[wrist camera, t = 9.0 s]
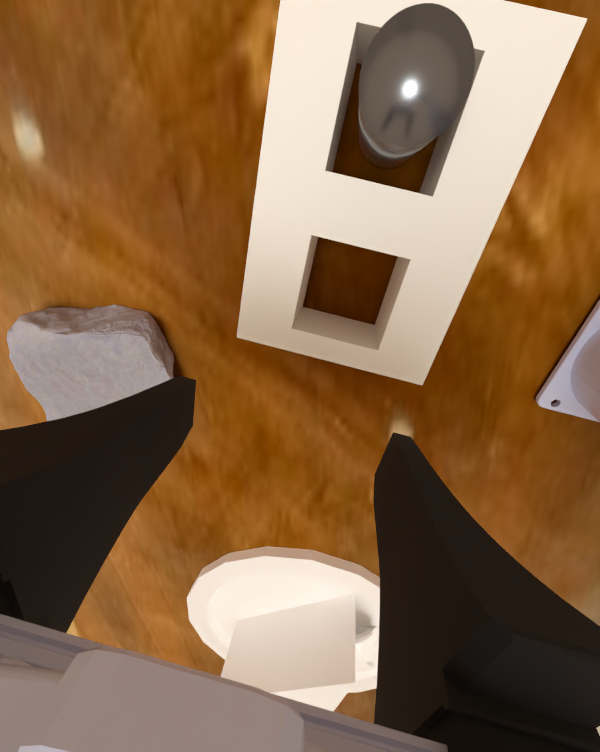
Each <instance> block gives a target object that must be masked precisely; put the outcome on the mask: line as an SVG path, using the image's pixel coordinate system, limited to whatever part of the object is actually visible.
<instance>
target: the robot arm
mask: <svg viewBox="0 0 600 752" xmlns="http://www.w3.org/2000/svg"><path fill="white" fill-rule="evenodd" d="M195 386H196V380H193V379H190V378H186V377H182V376H178V377H175V378H172V379H170V380H168V381H165V382H163V383H160V384H158V385H156V386H153V387H151V388H149V389H146V390H144V391H141V392H139V393H137V394H134V395H132V396H129V397H126V398H124V399H121V400H118V401H116V402H113V403H110V404H107V405H105V406H102V407H99V408H96V409H93V410H89V411H86V412H83V413H79V414H76V415H72V416H68V417H65V418H61V419H56V420H51V421H47V422H42V423H38V424H33V425H28V426H23V427H18V428H12V429H6V430H0V752H600V736H599V734H598V731H597V729H596V728H597V727H598V726H600V626H598V625H597V624H596V623H594V622H593V621H592V620H590V619H589V618H588V617H586V616H585V615H583V614H582V613H581V612H579V611H578V610H577V609H575V608H574V607H573V606H571V605H570V604H569V603H567V602H566V601H564V600H563V599H562V598H561V597H559V596H558V595H557V594H555V593H554V592H553V591H552V590H551V589H549V588H548V587H547V586H546V585H544V584H543V583H542V582H541V581H539V580H538V579H537V578H536V577H535V576H533V575H532V574H531V573H530V572H529V571H528V570H526V569H525V568H524V567H523V566H522V565H521V564H519V563H518V562H517V561H516V560H515V559H514V558H513V557H512V556H511V555H510V554H509V553H507V552H506V551H505V550H504V549H503V548H502V547H501V546H500V545H499V544H498V543H497V542H496V541H495V540H494V539H493V538H492V537H491V536H490V535H489V534H488V533H487V532H486V531H485V530H484V529H483V528H482V527H481V526H480V525H479V524H478V523H477V522H476V521H475V520H474V519H473V518H472V517H471V515H470V514H469V513H468V512H467V511H466V510H465V509H464V507H463V506H462V505H461V504H460V503H459V501H458V500H457V499H456V498H455V497H454V495H453V494H452V493H451V492H450V490H449V489H448V488H447V487H446V485H445V484H444V483H443V481H442V480H441V479H440V477H439V476H438V475H437V473H436V472H435V471H434V469H433V468H432V466H431V465H430V464H429V462H428V461H427V459H426V458H425V457H424V455H423V454H422V452H421V451H420V449H419V448H418V447H417V445H416V444H415V442H414V441H413V440H412V438H411V437H409V436H405V435H401V434H398V433H394V432H393V434H392V436H391V439H390V441H389V443H388V445H387V448H386V450H385V452H384V455H383V457H382V459H381V462H380V464H379V466H378V468H377V471H376V473H375V481H374V511H375V522H376V533H377V544H378V554H379V567H380V616H379V648H378V670H377V689H376V704H375V719H374V724H373V723H370V722H367V721H363V720H360V719H356V718H353V717H350V716H346V715H343V714H339V713H336V712H333V711H329V710H326V709H322V708H319V707H316V706H312V705H309V704H305V703H302V702H299V701H295V700H292V699H288V698H285V697H282V696H278V695H275V694H271V693H269V692H266V691H264V690H262V689H259V688H257V687H253V686H250V685H247V684H243V683H240V682H236V681H233V680H229V679H226V678H223V677H219V676H216V675H212V674H209V673H206V672H202V671H199V670H195V669H192V668H189V667H185V666H182V665H178V664H175V663H172V662H168V661H165V660H161V659H158V658H154V657H151V656H148V655H144V654H141V653H137V652H134V651H131V650H126V649H120V648H115V647H111V646H108V645H104V644H101V643H98V642H94V641H91V640H87V639H84V638H81V637H77V636H74V635H70V634H67V633H66V632H67V630H68V628H69V626H70V625H71V623H72V621H73V619H74V617H75V615H76V613H77V611H78V609H79V607H80V605H81V603H82V601H83V599H84V597H85V596H86V594H87V592H88V590H89V588H90V586H91V585H92V583H93V581H94V579H95V577H96V576H97V574H98V572H99V570H100V568H101V566H102V565H103V563H104V561H105V559H106V558H107V556H108V554H109V552H110V551H111V549H112V547H113V545H114V544H115V542H116V540H117V538H118V537H119V535H120V533H121V532H122V530H123V528H124V527H125V525H126V523H127V522H128V520H129V518H130V517H131V515H132V514H133V512H134V510H135V509H136V507H137V506H138V504H139V503H140V501H141V500H142V498H143V497H144V496H145V494H146V493H147V492H148V490H149V489H150V488H151V486H152V485H153V484H154V482H155V481H156V480H157V478H158V477H159V476H160V475H161V473H162V472H163V471H164V469H165V468H166V467H167V465H168V464H169V463H170V461H171V460H172V459H173V457H174V456H175V454H176V453H177V452H178V450H179V449H180V447H181V446H182V444H183V442H184V441H185V439H186V437H187V435H188V433H189V431H190V430H191V428H192V426H193V414H194V400H195ZM553 400H557V401H556V402H555V403H553V404H551V402H552V401H553ZM536 402H537V404H538V405H539V406H540V407H543V408H546V409H550V410H554V411H558V412H562V413H566V414H570V415H573V416H577V417H581V418H585V419H589V420H593V421H597V422H600V300H599V301H598V303H597V304H596V306H595V307H594V309H593V310H592V312H591V314H590V315H589V317H588V318H587V320H586V321H585V323H584V324H583V326H582V327H581V329H580V330H579V332H578V333H577V335H576V337H575V338H574V340H573V341H572V343H571V344H570V346H569V347H568V349H567V350H566V352H565V353H564V355H563V356H562V358H561V360H560V361H559V363H558V364H557V366H556V367H555V369H554V370H553V372H552V373H551V375H550V376H549V378H548V379H547V381H546V383H545V384H544V386H543V387H542V389H541V390H540V392H539V393H538V395H537V396H536Z"/></svg>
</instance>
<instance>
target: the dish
mask: <svg viewBox="0 0 600 752" xmlns="http://www.w3.org/2000/svg"><path fill="white" fill-rule="evenodd" d="M187 604H188V613H189V621H190V622H191V624H192V625H193V627H194V628H195V630H196V631H197V633H198V634H199V636H200V638H201V639H202V641H203V642H204V643H205V644H206V645H208V646H209V647H210V648H211V649H213V650H214V651H215V652H216V653H217V654H219V655H220V656H221V657H222V658H223V659H225V663H224V667H223V670H222V674H221V677H223V678H226V679H229V680H233V681H236V682H240V683H243V684H247V685H250V686H253V687H257V688H259V689H262V690H264V691H266V692H269V693H271V694H275V695H278V696H282V697H285V698H288V699H292V700H295V701H299V702H302V703H305V704H309V705H312V706H316V707H319V708H322V709H326V710H329V711H334V710H335V709H336V707H337V706H338V705H339V703H340V702H341V701H342V699H343V698H344V697H345V695H346V694H347V693H348V692H362V691H366V690H370V689H375V688H377V670H378V648H379V616H380V577H378V576H377V575H375V574H373V573H372V572H370V571H368V570H367V569H365V568H364V567H362V566H360V565H359V564H355V563H352V562H349V561H346V560H343V559H340V558H337V557H334V556H330V555H327V554H324V553H321V552H318V551H315V550H306V549H294V548H282V547H270V546H266V547H260V548H255V549H249V550H243V551H238V552H232V553H228V554H226V555H224V556H223V557H221V558H219V559H218V560H216V561H214V562H212V563H211V564H209V565H207V566H206V567H204V568H202V570H201V572H200V573H199V575H198V577H197V579H196V581H195V582H194V584H193V586H192V588H191V590H190V592H189V594H188V596H187Z"/></svg>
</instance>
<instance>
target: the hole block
mask: <svg viewBox="0 0 600 752" xmlns="http://www.w3.org/2000/svg"><path fill="white" fill-rule="evenodd" d="M421 3H434V4H439V5H442V6H445V7H447V8H449V9H450V10H452V11H453V12H455V13H456V14H457V15H458V16H459V17H460V18H461V19H462V21H463V22H464V23H465V25H466V27H467V29H468V30H469V33H470V36H471V38H472V42H473V46H474V53H475V70H474V78H473V82H472V86H471V89H470V92H469V95H468V98H467V100H466V102H465V104H464V106H463V108H462V110H461V111H460V113H459V114H458V116H457V117H456V118H455V120H454V121H453V122H452V123H451V124H450V126H449V127H448V128H446V129H445V130H444V131H443V132H442V133H441V134H440V135H438V138H437V141H436V144H435V147H434V150H433V153H432V156H431V159H430V162H429V165H428V168H427V171H426V174H425V177H424V180H423V183H422V186H421V189H420V192H419V193H416V192H412V191H408V190H404V189H399V188H395V187H391V186H387V185H383V184H379V183H374V182H370V181H366V180H362V179H358V178H354V177H349V176H345V175H341V174H337V173H333V168H334V164H335V159H336V155H337V150H338V146H339V141H340V137H341V132H342V128H343V123H344V119H345V114H346V110H347V105H348V101H349V96H350V92H351V87H352V83H353V78H354V74H355V69H356V65H357V63H359V64H362V63H363V60H364V56H365V54H366V52H367V49H368V47H369V45H370V43H371V41H372V40H373V38H374V36H375V35H376V34H377V32H378V31H379V29H380V28H381V27H382V26H383V25H384V24H385V23H386V22H387V21H388V20H389V19H390V18H391V17H392V16H394V15H395V14H397V13H398V12H399V11H401V10H403V9H405V8H407V7H410V6H413V5H416V4H421ZM586 21H587V19H586V18H582V17H577V16H572V15H568V14H563V13H559V12H554V11H550V10H545V9H541V8H536V7H532V6H527V5H522V4H518V3H513V2H509V1H504V0H280V8H279V15H278V23H277V31H276V38H275V46H274V54H273V61H272V69H271V77H270V84H269V92H268V100H267V107H266V115H265V123H264V130H263V138H262V146H261V153H260V161H259V169H258V176H257V184H256V192H255V199H254V207H253V215H252V222H251V230H250V238H249V245H248V253H247V261H246V268H245V276H244V284H243V291H242V299H241V307H240V314H239V322H238V330H237V338H241V339H245V340H249V341H253V342H256V343H260V344H264V345H268V346H272V347H276V348H280V349H283V350H287V351H291V352H295V353H299V354H303V355H307V356H310V357H314V358H318V359H322V360H326V361H330V362H334V363H337V364H341V365H345V366H349V367H353V368H357V369H361V370H364V371H368V372H372V373H376V374H380V375H384V376H388V377H391V378H395V379H399V380H403V381H407V382H411V383H415V384H418V385H423V383H424V381H425V378H426V376H427V374H428V372H429V370H430V367H431V365H432V363H433V361H434V358H435V356H436V354H437V352H438V350H439V347H440V345H441V343H442V341H443V338H444V336H445V334H446V332H447V330H448V327H449V325H450V323H451V321H452V318H453V316H454V314H455V312H456V310H457V307H458V305H459V303H460V301H461V298H462V296H463V294H464V292H465V290H466V287H467V285H468V283H469V281H470V278H471V276H472V274H473V272H474V270H475V267H476V265H477V263H478V261H479V258H480V256H481V254H482V252H483V250H484V247H485V245H486V243H487V241H488V238H489V236H490V234H491V232H492V230H493V227H494V225H495V223H496V221H497V218H498V216H499V214H500V212H501V210H502V207H503V205H504V203H505V201H506V199H507V196H508V194H509V192H510V190H511V187H512V185H513V183H514V181H515V179H516V176H517V174H518V172H519V170H520V167H521V165H522V163H523V161H524V159H525V156H526V154H527V152H528V150H529V147H530V145H531V143H532V141H533V139H534V136H535V134H536V132H537V130H538V127H539V125H540V123H541V121H542V119H543V116H544V114H545V112H546V110H547V107H548V105H549V103H550V101H551V99H552V96H553V94H554V92H555V90H556V87H557V85H558V83H559V81H560V79H561V76H562V74H563V72H564V70H565V67H566V65H567V63H568V61H569V59H570V56H571V54H572V52H573V50H574V47H575V45H576V43H577V41H578V39H579V36H580V34H581V32H582V30H583V27H584V25H585V23H586ZM318 237H322V238H326V239H330V240H334V241H338V242H342V243H346V244H350V245H354V246H358V247H362V248H366V249H370V250H374V251H378V252H382V253H386V254H390V255H394V256H398V257H397V260H396V263H395V266H394V269H393V272H392V275H391V278H390V281H389V284H388V287H387V290H386V293H385V296H384V299H383V302H382V305H381V308H380V311H379V313H378V316H377V319H376V322H375V325H373V324H369V323H365V322H361V321H357V320H353V319H349V318H345V317H341V316H337V315H333V314H329V313H325V312H321V311H318V310H314V309H310V308H306V307H303V303H304V299H305V294H306V290H307V285H308V281H309V276H310V272H311V267H312V263H313V258H314V254H315V249H316V245H317V240H318Z"/></svg>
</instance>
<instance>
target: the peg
mask: <svg viewBox="0 0 600 752" xmlns="http://www.w3.org/2000/svg"><path fill="white" fill-rule="evenodd" d="M474 70H475V53H474V46H473V42H472V38H471V36H470V33H469V30H468V29H467V27H466V25H465V23H464V22H463V21H462V19H461V18H460V17H459V16H458V15H457V14H456V13H455V12H453V11H452V10H450V9H449V8H447V7H445V6H442V5H439V4H434V3H421V4H416V5H413V6H410V7H407V8H405V9H403V10H401V11H399V12H398V13H397V14H395V15H394V16H392V17H391V18H390V19H389V20H388V21H387V22H386V23H385V24H384V25H383V26H382V27H381V28H380V29H379V31H378V32H377V34H376V35H375V36H374V38H373V40H372V41H371V43H370V45H369V47H368V49H367V52H366V54H365V56H364V60H363V63H362V67H361V71H360V78H359V119H358V140H359V146H360V149H361V152H362V154H363V156H364V157H365V159H366V160H367V161H368V162H369V163H370V164H372V165H373V166H375V167H378V168H382V169H391V168H395V167H398V166H400V165H402V164H403V163H405V162H406V161H407V160H409V159H410V158H411V157H412V156H414V155H415V154H416V153H417V152H418V151H420V150H421V149H422V148H423V147H425V146H426V145H427V144H428V143H430V142H431V141H432V140H433V139H435V138H436V137H437V136H438V135H440V134H441V133H442V132H443V131H444V130H445V129H446V128H448V127H449V126H450V124H451V123H452V122H453V121H454V120H455V118H456V117H457V116H458V114H459V113H460V111H461V110H462V108H463V106H464V104H465V102H466V100H467V98H468V95H469V92H470V89H471V86H472V82H473V78H474Z"/></svg>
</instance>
